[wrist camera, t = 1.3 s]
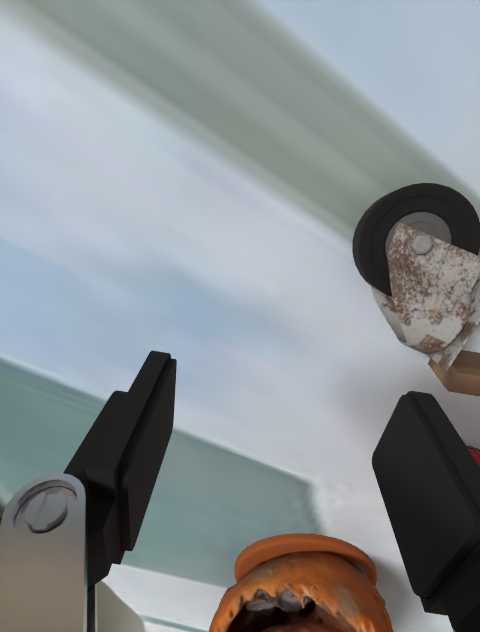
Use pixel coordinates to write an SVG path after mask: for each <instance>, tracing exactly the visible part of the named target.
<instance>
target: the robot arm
mask: <svg viewBox="0 0 480 632" xmlns="http://www.w3.org/2000/svg"><path fill="white" fill-rule="evenodd" d="M176 364H177V361H176V359H171V355H170V353H164V352H157V351H151V352H150V353H149V355H148V357H147V359H146V360H145V362H144V364H143V366H142V368H141V369H140V371H139V373H138V375H137V377H136V378H135V380H134V382H133V384H132V386H131V387H130V389H129V391H128V392H123V391H115V392H113V394H112V395H111V396H110V398H109V399H108V401H107V403H106V404H105V406H104V408H103V409H102V411H101V412H100V414H99V416H98V417H97V419H96V421H95V422H94V424H93V426H92V427H91V429H90V430H89V432H88V434H87V435H86V437H85V439H84V440H83V442H82V443H81V445H80V447H79V448H78V450H77V452H76V453H75V455H74V456H73V458H72V460H71V461H70V463H69V465H68V466H67V468H66V469H65V471H64V473H56V474H48V475H45V476H42V477H39V478H37V479H35V480H33V481H31V482H29V483H28V484H26V485H25V486H24V487H22V488H21V489H20V490H19V491H18V492H17V493H15V495H14V496H13V497H12V499H11V500H10V501H9V503H8V504H7V506H6V508H5V511H4V513H3V516H2V517H1V518H0V632H97V583H98V582H99V581H100V580H102V579H103V578H105V577H106V576H107V575H108V573H109V571H110V568H111V565H112V563H113V564H121V561H122V558H123V555H124V552H125V550H126V551H132V550H133V548H134V546H135V543H136V540H137V537H138V534H139V531H140V528H141V525H142V522H143V519H144V516H145V513H146V510H147V507H148V503H149V500H150V497H151V494H152V491H153V488H154V485H155V482H156V479H157V476H158V473H159V470H160V467H161V464H162V461H163V458H164V455H165V452H166V449H167V446H168V443H169V439H170V436H171V433H172V428H173V419H174V401H175V382H176ZM372 466H373V469H374V473H375V476H376V479H377V482H378V485H379V488H380V491H381V494H382V497H383V500H384V503H385V507H386V510H387V513H388V516H389V519H390V522H391V525H392V528H393V531H394V534H395V537H396V541H397V544H398V547H399V550H400V553H401V556H402V559H403V562H404V565H405V568H406V572H407V575H408V578H409V581H410V584H411V587H412V589H413V591H414V593H415V594H416V595H417V596H420V599H421V602H422V605H423V608H424V611H425V612H428V613H434V614H441V615H448V617H449V620H450V623H451V625H452V628H453V632H480V467H479V465H478V464H477V462H476V460H475V459H474V457H473V456H472V454H471V453H470V451H469V450H468V448H467V447H466V445H465V444H464V442H463V441H462V439H461V437H460V436H459V434H458V433H457V431H456V430H455V428H454V427H453V425H452V424H451V422H450V421H449V419H448V417H447V416H446V414H445V413H444V411H443V410H442V408H441V407H440V405H439V404H438V402H437V401H436V399H435V398H434V396H433V395H431V394H428V393H421V392H415V391H409V392H408V393H407V394H406V395H402V396H401V398H400V399H399V401H398V403H397V406H396V408H395V410H394V412H393V414H392V416H391V418H390V420H389V422H388V424H387V426H386V428H385V430H384V432H383V434H382V437H381V439H380V441H379V443H378V445H377V447H376V449H375V451H374V453H373V456H372Z"/></svg>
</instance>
